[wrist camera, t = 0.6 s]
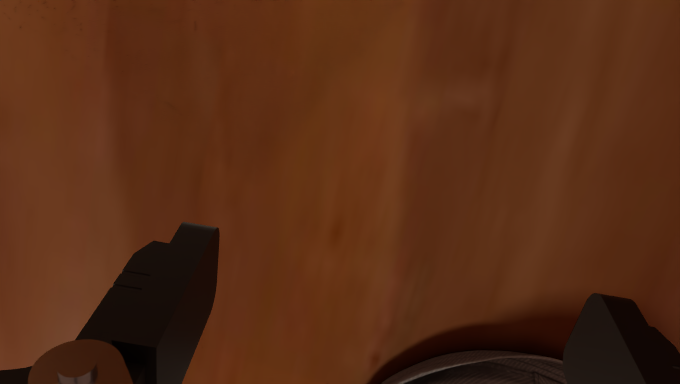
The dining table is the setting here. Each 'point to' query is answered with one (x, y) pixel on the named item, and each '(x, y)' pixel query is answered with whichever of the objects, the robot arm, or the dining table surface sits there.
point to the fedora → (483, 369)
